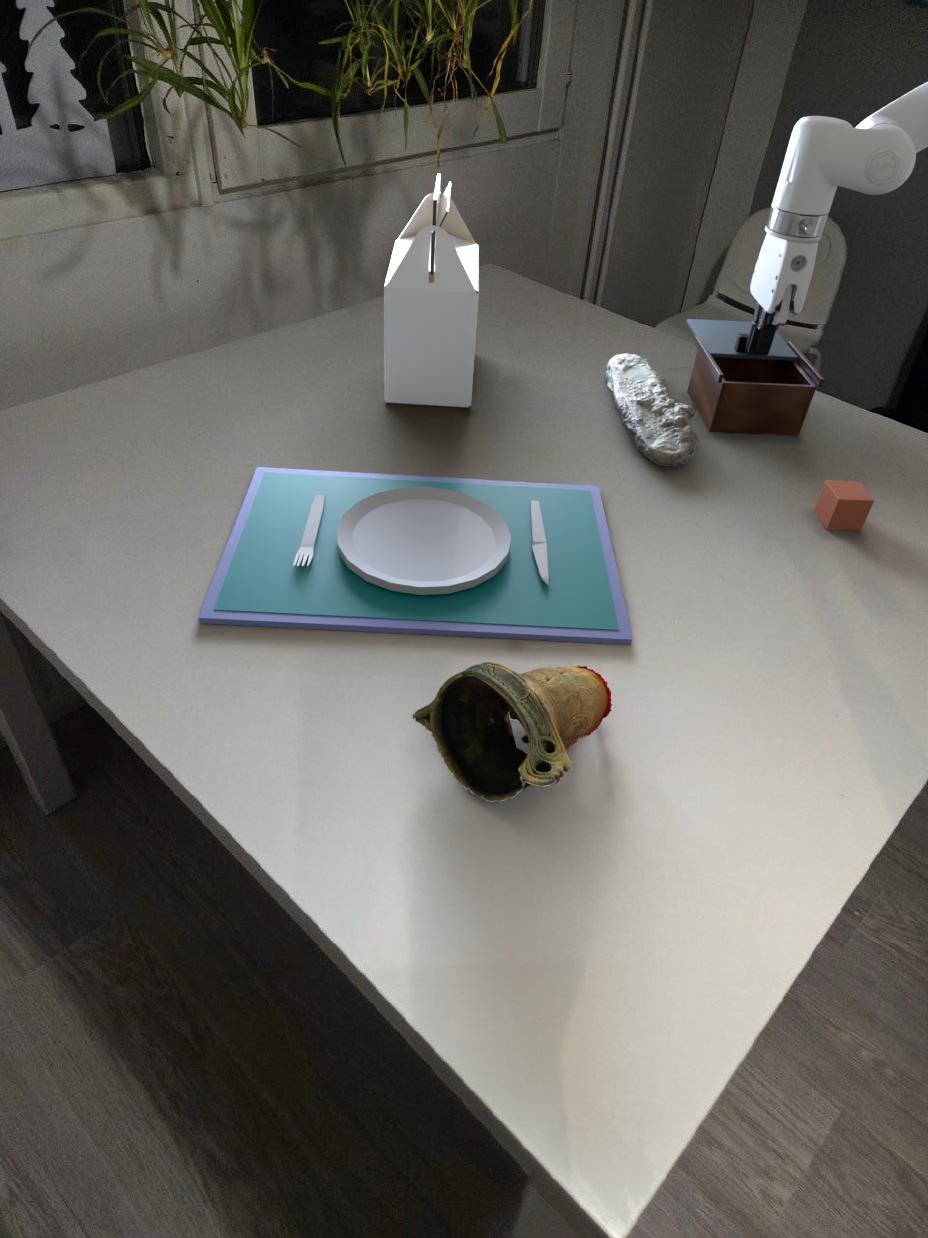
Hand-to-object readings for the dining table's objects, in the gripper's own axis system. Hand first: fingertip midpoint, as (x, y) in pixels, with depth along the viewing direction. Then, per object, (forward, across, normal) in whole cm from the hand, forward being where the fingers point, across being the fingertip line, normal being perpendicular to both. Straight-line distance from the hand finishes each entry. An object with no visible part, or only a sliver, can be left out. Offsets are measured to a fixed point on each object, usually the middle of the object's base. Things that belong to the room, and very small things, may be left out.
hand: (756, 352), depth 124 cm
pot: (+10, -72, +42) cm, 84 cm away
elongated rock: (+10, -3, +16) cm, 19 cm away
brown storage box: (+10, -1, 0) cm, 10 cm away
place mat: (+10, -40, +50) cm, 65 cm away
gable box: (+10, +8, +49) cm, 51 cm away
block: (+10, -31, -4) cm, 32 cm away
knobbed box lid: (+1, +8, 0) cm, 8 cm away
